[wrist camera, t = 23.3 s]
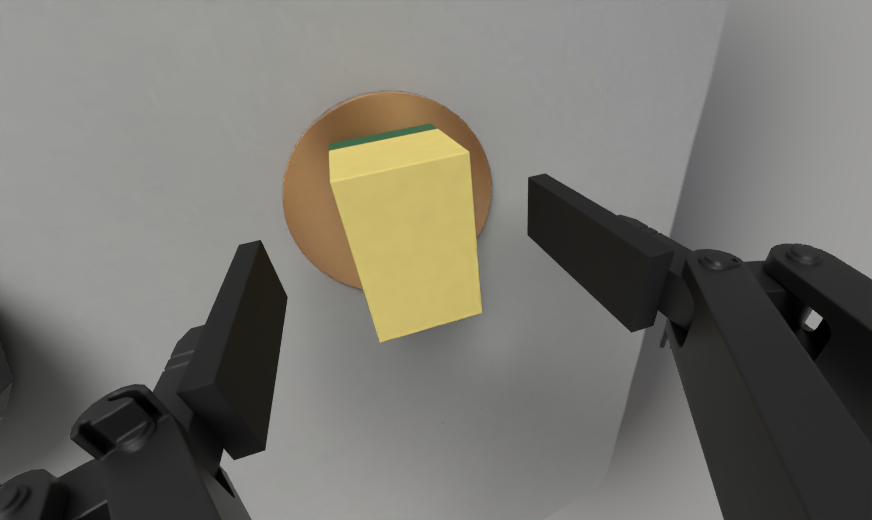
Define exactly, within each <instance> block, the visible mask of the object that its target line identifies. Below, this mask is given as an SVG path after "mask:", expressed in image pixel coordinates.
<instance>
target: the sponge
mask: <svg viewBox="0 0 872 520" xmlns="http://www.w3.org/2000/svg"><path fill="white" fill-rule="evenodd" d="M329 170H330V185H331V188H332V191H333V194H334V197H335V201H336V204H337V207H338V210H339V213H340V217H341V220H342V223H343V226H344V229H345V233H346V236H347V239H348V242H349V246H350V249H351V252H352V255H353V258H354V262H355V265H356V268H357V271H358V274H359V278H360V281H361V284H362V287H363V290H364V294H365V297H366V300H367V303H368V306H369V310H370V313H371V316H372V319H373V322H374V326H375V329H376V332H377V335H378V339H379V342H385V341H388V340H392V339H395V338H398V337H402V336H405V335H409V334H412V333H416V332H419V331H423V330H426V329H429V328H433V327H436V326H440V325H443V324H447V323H450V322H453V321H457V320H460V319H464V318H467V317H471V316H474V315H477V314H481V313H482V305H481V292H480V279H479V267H478V254H477V241H476V228H475V216H474V203H473V190H472V177H471V164H470V153H469V151H468V150H466V149H465V148H463V147H462V146H461V145H459V144H458V143H457V142H455V141H454V140H453V139H451V138H450V137H449V136H447V135H446V134H445V133H443V132H442V131H440V130H439V129H437V128H436V127H435V126H433V125H432V124H425V125H420V126H415V127H410V128H405V129H400V130H395V131H390V132H385V133H380V134H375V135H370V136H365V137H360V138H355V139H350V140H345V141H340V142H335V143H330V144H329Z"/></svg>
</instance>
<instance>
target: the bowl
mask: <svg viewBox="0 0 872 520" xmlns="http://www.w3.org/2000/svg"><path fill="white" fill-rule="evenodd" d="M12 384H13V376H12V373H11V370H10V368H9V365H8V362H7V359H6V357H5V354H4V351H3V348H2V346H1V343H0V419H1V418H2V417H3V415H4V414H5V411H6V407H7V403H8V399H9V395H10V391H11V387H12Z"/></svg>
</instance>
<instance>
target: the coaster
mask: <svg viewBox="0 0 872 520" xmlns="http://www.w3.org/2000/svg"><path fill="white" fill-rule="evenodd" d="M425 124H432V125H433V126H435V127H436V128H437V129H439V130H440V131H442V132H443V133H445V134H446V135H447V136H449V137H450V138H451V139H453V140H454V141H455V142H457V143H458V144H459V145H461V146H462V147H463V148H465V149H466V150H468V151H469V153H470V164H471V177H472V190H473V203H474V216H475V228H476V240H477V238H478V237H479V235H480V233H481V231H482V229H483V227H484V224H485V222H486V219H487V215H488V212H489V208H490V201H491V175H490V169H489V165H488V161H487V158H486V155H485V153H484V150H483V148H482V146H481V144H480V142H479V141H478V139H477V137H476V136H475V134H474V133H473V132H472V130H471V129H470V128H469V127H468V125H467V124H466V123H465V122H464V121H463V120H461V119H460V118H459V117H458V116H457V115H456V114H454V113H453V112H452V111H450V110H449V109H447V108H446V107H444V106H442V105H440V104H439V103H437V102H435V101H433V100H431V99H428V98H425V97H422V96H420V95H417V94H412V93H407V92H401V91H379V92H370V93H366V94H362V95H358V96H354V97H352V98H349V99H347V100H345V101H342V102H340V103H338V104H337V105H335V106H333V107H332V108H330V109H328V110H327V111H325V112H324V113H323V114H322V115H321V116H319V117H318V118H317V119H316V120H315V121H314V122H313V123H312V124H311V125H310V126H309V127H308V128H307V129H306V131H305V132H304V133H303V135H302V136H301V138H300V139H299V141H298V142H297V144H296V145H295V147H294V150H293V152H292V154H291V156H290V158H289V162H288V165H287V169H286V172H285V176H284V183H283V208H284V213H285V219H286V222H287V225H288V228H289V231H290V233H291V235H292V237H293V239H294V241H295V243H296V244H297V246H298V247H299V249H300V250H301V251H302V253H303V254H304V255H305V256H306V257H307V259H308V260H309V261H310V262H311V263H312V264H313V265H315V266H316V267H317V268H318V269H319V270H320V271H322V272H323V273H325V274H326V275H328V276H329V277H331V278H333V279H335V280H337V281H339V282H341V283H343V284H346V285H349V286H352V287H355V288H360V289H363V287H362V284H361V281H360V278H359V274H358V271H357V268H356V265H355V262H354V258H353V255H352V252H351V249H350V246H349V242H348V239H347V236H346V233H345V229H344V226H343V223H342V220H341V217H340V213H339V210H338V207H337V204H336V201H335V197H334V194H333V191H332V188H331V185H330V170H329V144H330V143H335V142H340V141H345V140H350V139H355V138H360V137H365V136H370V135H375V134H380V133H385V132H390V131H395V130H400V129H405V128H410V127H415V126H420V125H425Z"/></svg>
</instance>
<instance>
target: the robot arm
mask: <svg viewBox="0 0 872 520" xmlns="http://www.w3.org/2000/svg"><path fill="white" fill-rule="evenodd" d="M528 236H529V237H530V238H531V239H532V240H533V241H535V242H536V243H537V244H538V245H539V246H540V247H541V248H542V249H543V250H544V251H545V252H546V253H547V254H548V255H549V256H551V257H552V258H553V259H554V260H555V261H556V262H557V263H558V264H559V265H560V266H561V267H562V268H563V269H564V270H565V271H567V272H568V273H569V274H570V275H571V276H572V277H573V278H574V279H575V280H576V281H577V282H578V283H579V284H580V285H581V286H582V287H584V288H585V289H586V290H587V291H588V292H589V293H590V294H591V295H592V296H593V297H594V298H595V299H596V300H597V301H598V302H600V303H601V304H602V305H603V306H604V307H605V308H606V309H607V310H608V311H609V312H610V313H611V314H612V315H613V316H614V317H615V318H617V319H618V320H619V321H620V322H621V323H622V324H623V325H624V326H625V327H626V328H627V329H628V330H629V331H630V332H631V333H632V332H635V331H638V330H641V329H644V328H647V327H650V326H653V325H654V322H655V318H656V315H657V311H658V310H659V311H660V312H661V313H662V314H664V315H665V316H666V317H667V321H666V324H665V327H664V331H663V334H662V337H661V340H660V347H662V348H663V347H664V346H665V343H666V341H667V340H668V339H669V342H670V348H671V349H672V352H673V355H674V359H675V362H676V365H677V368H678V372H679V375H680V378H681V382H682V385H683V388H684V391H685V395H686V398H687V401H688V404H689V408H690V411H691V414H692V417H693V421H694V424H695V427H696V430H697V434H698V437H699V440H700V443H701V447H702V450H703V453H704V456H705V459H706V463H707V466H708V469H709V473H710V476H711V479H712V482H713V486H714V489H715V492H716V496H717V499H718V502H719V505H720V509H721V512H722V515H723V518H724V520H872V280H871V279H870V278H869V277H867V276H865V275H864V274H862V273H860V272H859V271H857V270H856V269H854V268H852V267H851V266H849V265H847V264H846V263H844V262H843V261H841V260H839V259H838V258H836V257H835V256H833V255H831V254H829V253H827V252H825V251H823V250H821V249H817V248H814V247H812V246H809V245H802V244H781V245H776V246H774V247H773V248H771V250H770V252H769V254H768V256H767V258H766V261H751V262H743V261H742V260H741V259H740V258H738V257H736V256H734V255H732V254H729V253H726V252H722V251H719V250H711V249H701V250H695V251H691V250H690V249H688V248H686V247H684V246H682V245H681V244H679V243H677V242H675V241H674V240H672V239H670V238H668V237H666V236H665V235H663V234H661V233H658V231H656V230H654V229H652V228H648V226H647V225H645V224H643V223H642V222H640V221H638V220H636V219H633V218H630V217H626V216H623V215H615V214H614V213H612V212H610V211H608V210H607V209H605V208H603V207H602V206H600V205H598V204H596V203H595V202H593V201H591V200H590V199H588V198H586V197H584V196H583V195H581V194H579V193H578V192H576V191H574V190H573V189H571V188H569V187H567V186H566V185H564V184H562V183H561V182H559V181H557V180H555V179H554V178H552V177H550V176H549V175H547V174H541V175H536V176H532V177H528ZM287 298H288V297H287V295H286V293H285V291H284V289H283V286H282V284H281V282H280V280H279V278H278V276H277V274H276V272H275V269H274V267H273V265H272V263H271V261H270V259H269V257H268V254H267V252H266V250H265V248H264V246H263V244H262V242H261V240H258V241H254V242H250V243H246V244H241V245H239V246H238V249H237V251H236V253H235V256H234V258H233V260H232V263H231V265H230V267H229V270H228V272H227V275H226V277H225V279H224V282H223V284H222V286H221V289H220V291H219V293H218V296H217V298H216V300H215V303H214V305H213V307H212V310H211V312H210V314H209V317H208V319H207V321H206V324H205V325H202V326H198V327H194V328H191V329H190V330H189V331H188V332H187V333H186V334H185V335H184V336H183V337H182V338H181V339H180V340H179V341H178V342H177V344H176V346H175V348H174V350H173V352H172V354H171V356H170V357H171V359H170V360H168V363H167V365H166V367H165V371H164V372H163V373H162V375H161V377H160V379H159V381H158V383H157V385H156V387H155V389H154V391H153V393H152V391H151V390H150V389H149V388H147V387H146V386H145V385H139V384H133V385H130V386H126V387H122V388H120V389H117V390H115V391H113V392H111V393H109V394H107V395H105V396H104V397H103V398H101V399H100V400H98V401H97V402H95V403H94V404H92V405H91V406H90V407H89V408H88V409H87V410H86V411H85V412H84V413H83V414H82V415H81V416H80V417H79V418H78V420H77V421H76V423H75V424H74V425H73V427H72V429H71V433H70V439H71V440H72V441H74V442H75V443H76V444H78V445H79V446H80V447H81V448H83V449H84V450H85V451H87V452H88V453H89V454H90V455H92V456H93V457H94V458H95V459H93V460H91V461H89V462H87V463H85V464H83V465H81V466H79V467H78V468H76V469H74V470H72V471H70V472H68V473H66V474H64V475H62V476H61V477H59V478H56V477H55V476H53V475H52V474H50V473H49V472H47V471H46V470H44V469H38V470H30V471H28V472H25V473H22V474H20V475H17V476H15V477H14V478H12V479H10V480H8V481H7V482H5V483H3V484H2V485H0V520H251V518H250V516H249V514H248V512H247V510H246V508H245V507H244V505H243V503H242V501H241V499H240V497H239V495H238V494H237V492H236V490H235V488H234V486H233V484H232V482H231V481H230V479H229V477H228V475H227V473H226V472H225V471H224V470H223V468H222V467H221V466H220V461H221V457H222V453H223V449H225V450H226V451H227V453H228V454H229V455H230V456H231V457H232V458H233V460H236V459H239V458H242V457H246V456H249V455H252V454H255V453H258V452H261V451H264V450H265V448H266V441H267V434H268V427H269V420H270V414H271V407H272V400H273V393H274V387H275V380H276V373H277V366H278V359H279V353H280V346H281V339H282V332H283V325H284V319H285V312H286V305H287ZM812 310H814V311H815V312H817V313H818V314H819V315H820V316H822V317H823V319H822V321H821V323H820V324H819V326H818V327H817V328H816V329H815V330H813V329H812V328H810V327H809V326H808V325H806V324H805V321H806V320H807V318H808V316H809V315H810V313H811V311H812Z"/></svg>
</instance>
